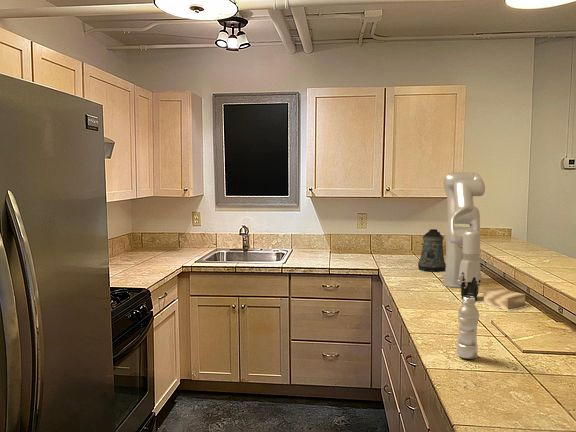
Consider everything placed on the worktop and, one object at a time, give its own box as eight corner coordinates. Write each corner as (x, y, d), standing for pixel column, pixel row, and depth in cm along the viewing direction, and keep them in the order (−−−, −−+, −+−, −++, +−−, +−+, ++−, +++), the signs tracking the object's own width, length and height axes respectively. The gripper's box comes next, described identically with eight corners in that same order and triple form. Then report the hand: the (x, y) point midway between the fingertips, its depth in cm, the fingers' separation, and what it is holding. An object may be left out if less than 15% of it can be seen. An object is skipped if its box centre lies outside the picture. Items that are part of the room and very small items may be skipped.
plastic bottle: (472, 353, 151) (474, 294, 149) (481, 361, 144) (483, 299, 142) (452, 353, 151) (454, 294, 149) (461, 361, 144) (463, 300, 142)
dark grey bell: (418, 271, 277) (419, 231, 275) (417, 265, 296) (418, 227, 294) (447, 273, 273) (448, 231, 271) (443, 266, 292) (445, 228, 290)
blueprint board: (478, 304, 208) (478, 301, 208) (498, 299, 215) (498, 297, 215) (510, 313, 194) (510, 310, 194) (530, 308, 201) (530, 306, 201)
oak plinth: (483, 302, 207) (484, 291, 206) (500, 299, 212) (501, 288, 212) (507, 309, 196) (508, 298, 196) (524, 305, 202) (525, 294, 202)
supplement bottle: (467, 304, 208) (468, 278, 207) (458, 300, 215) (459, 275, 214) (480, 302, 210) (481, 277, 209) (470, 299, 216) (471, 274, 215)
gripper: (476, 254, 218) (475, 291, 220) (451, 257, 210) (450, 295, 211) (490, 256, 211) (488, 294, 213) (464, 260, 203) (463, 299, 205)
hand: (469, 294), depth 212 cm, fingers closed on supplement bottle, 6 cm apart
